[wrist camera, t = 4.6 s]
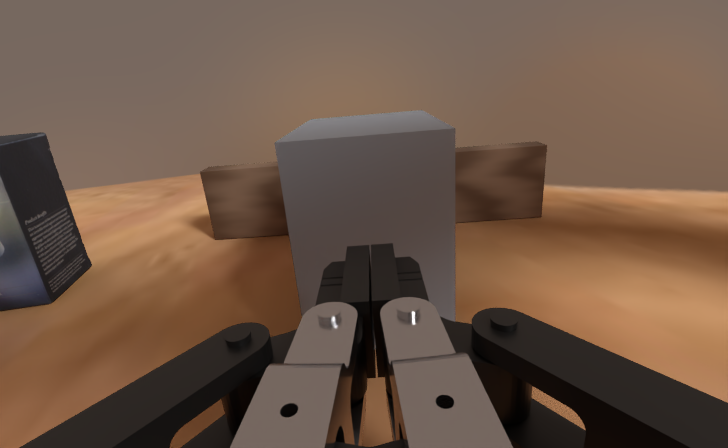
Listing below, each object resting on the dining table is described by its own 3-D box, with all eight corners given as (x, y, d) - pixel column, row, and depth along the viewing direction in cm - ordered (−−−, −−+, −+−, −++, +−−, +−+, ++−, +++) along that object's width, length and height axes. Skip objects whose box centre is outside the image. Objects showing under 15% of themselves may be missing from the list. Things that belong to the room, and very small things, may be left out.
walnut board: (531, 209, 35) (536, 141, 33) (541, 216, 33) (547, 145, 31) (223, 231, 36) (209, 166, 34) (215, 239, 34) (200, 171, 32)
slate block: (426, 255, 28) (422, 110, 24) (455, 345, 18) (455, 128, 15) (328, 262, 28) (310, 119, 25) (307, 354, 19) (274, 142, 15)
